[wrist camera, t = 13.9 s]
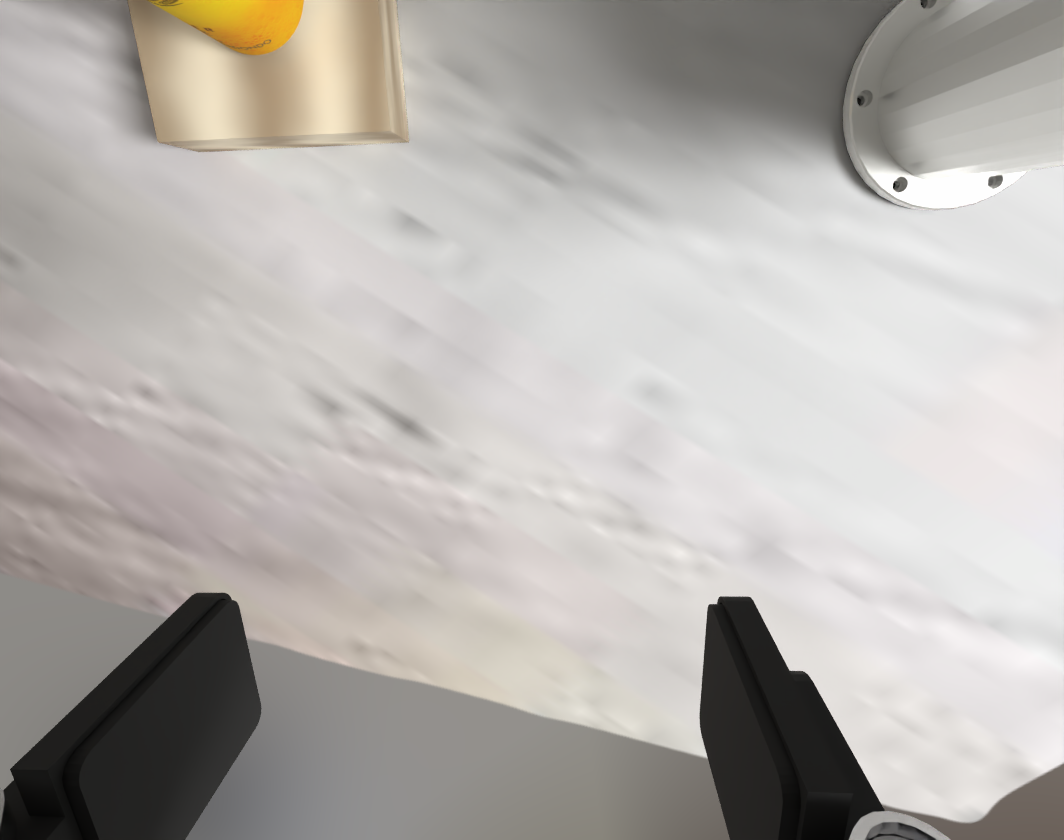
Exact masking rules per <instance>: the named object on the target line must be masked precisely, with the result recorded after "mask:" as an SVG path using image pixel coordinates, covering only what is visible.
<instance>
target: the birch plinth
mask: <svg viewBox="0 0 1064 840" xmlns="http://www.w3.org/2000/svg"><path fill="white" fill-rule="evenodd" d="M127 1H128V6H129V10H130V15H131V20H132V24H133V29H134V34H135V38H136V43H137V48H138V52H139V57H140V62H141V66H142V71H143V76H144V80H145V85H146V90H147V94H148V99H149V104H150V108H151V113H152V118H153V122H154V127H155V132H156V136H157V141H158V142H159V143H164V144H168V145H172V146H176V147H181V148H185V149H189V150H193V151H197V152H211V151H232V150H254V149H275V148H297V147H319V146H340V145H362V144H383V143H405V142H409V135H408V124H407V113H406V102H405V91H404V80H403V69H402V58H401V47H400V35H399V24H398V13H397V2H396V0H304V7H303V12H302V16H301V20H300V22H299V25H298V27H297V29H296V31H295V33H294V34H293V35H292V37H291V38H290V39H289V40H288V41H287V42H286V44H284V45H283V46H282V47H281V48H279V49H277V50H275V51H273V52H271V53H268V54H264V55H247V54H243V53H239V52H237V51H234V50H232V49H230V48H229V47H227V46H225V45H223V44H222V43H220V42H218V41H216V40H215V39H213V38H211V37H209V36H208V35H206V34H204V33H203V32H201V31H199V30H197V29H196V28H194V27H192V26H190V25H189V24H187V23H185V22H183V21H182V20H180V19H178V18H177V17H175V16H173V15H171V14H170V13H168V12H166V11H164V10H163V9H161V8H159V7H157V6H156V5H154V4H152V3H151V2H149V1H147V0H127Z"/></svg>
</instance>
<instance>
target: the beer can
mask: <svg viewBox="0 0 1064 840" xmlns="http://www.w3.org/2000/svg"><path fill="white" fill-rule="evenodd" d="M147 1H149V2H151V3H152V4H154V5H156V6H157V7H159V8H161V9H163V10H164V11H166V12H168V13H170V14H171V15H173V16H175V17H177V18H178V19H180V20H182V21H183V22H185V23H187V24H189V25H190V26H192V27H194V28H196V29H197V30H199V31H201V32H203V33H204V34H206V35H208V36H209V37H211V38H213V39H215V40H216V41H218V42H220V43H222V44H223V45H225V46H227V47H229V48H230V49H232V50H234V51H237V52H239V53H243V54H247V55H264V54H268V53H271V52H273V51H275V50H277V49H279V48H281V47H282V46H283V45H284V44H286V42H287V41H288V40H289V39H290V38H291V37H292V35H293V34H294V33H295V31H296V29H297V27H298V25H299V22H300V20H301V16H302V12H303V7H304V0H147Z"/></svg>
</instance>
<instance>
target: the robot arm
mask: <svg viewBox="0 0 1064 840" xmlns="http://www.w3.org/2000/svg"><path fill="white" fill-rule="evenodd" d="M921 2H922V3H923V7H922V6H921ZM857 98H860V99H861V104H860V106H859V105H858V103H857ZM843 131H844V136H845V141H846V146H847V151H848V153H849V155H850V158H851V160H852V162H853V165H854V167H855V169H856V170H857V172H858V173H859V174H860V176H861V177H862V179H863V180H864V181H865V183H866V184H867V185H868V186H869V187H871V188H872V189H873V190H874V191H875V192H876V193H877V194H878V195H880V196H881V197H883V198H885V199H887V200H889V201H891V202H893V203H894V204H896V205H900V206H904V207H907V208H911V209H916V210H932V211H935V210H946V209H955V208H959V207H964V206H968V205H973V204H975V203H978V202H980V201H982V200H985V199H987V198H990V197H992V196H994V195H996V194H997V193H999V192H1001V191H1002V190H1004V189H1006V188H1007V187H1009V186H1011V185H1012V184H1014V183H1015V182H1016V181H1017V180H1018V179H1020V178H1021V177H1022V176H1023V175H1024V174H1026V173H1027V172H1028V171H1030V170H1037V169H1044V168H1051V167H1058V166H1064V0H903V1H901V2H900V3H899V4H898V5H897V6H896V7H895V8H894V9H893V10H892V11H891V12H890V13H889V14H888V15H887V16H885V17H884V18H883V19H882V20H881V22H880V23H879V24H878V26H877V27H876V28H875V30H874V31H873V32H872V34H871V35H870V36H869V38H868V39H867V40H866V42H865V44H864V46H863V48H862V50H861V52H860V53H859V55H858V57H857V59H856V61H855V63H854V66H853V69H852V72H851V75H850V78H849V81H848V84H847V87H846V93H845V99H844V105H843ZM894 182H895V184H896V187H895V189H894V190H893V183H894ZM260 715H261V703H260V698H259V694H258V689H257V685H256V681H255V676H254V671H253V667H252V663H251V658H250V653H249V649H248V645H247V640H246V636H245V631H244V627H243V622H242V618H241V613H240V609H239V605H238V603H237V602H236V601H233V600H232V599H231V597H230V596H229V595H228V594H226V593H196V594H194V595H192V596H191V597H190V598H189V599H188V600H187V601H186V602H185V603H184V604H182V605H181V606H180V607H179V608H178V609H177V610H176V611H175V612H174V613H173V614H172V615H171V616H170V617H169V618H168V619H167V620H166V621H165V622H164V623H163V624H162V625H160V626H159V627H158V629H156V630H155V631H154V632H153V633H152V634H151V635H150V636H149V637H148V638H147V639H146V640H145V641H144V642H143V643H142V644H141V645H140V646H139V647H138V648H136V649H135V650H134V651H133V652H132V653H131V654H130V655H129V656H128V657H127V658H126V659H125V660H124V661H123V662H122V663H121V664H120V665H119V666H118V667H117V668H116V669H114V670H113V671H112V672H111V673H110V674H109V675H108V676H107V677H106V678H105V679H104V680H103V681H102V682H101V683H100V684H99V685H98V686H97V687H96V688H95V689H94V690H93V691H91V692H90V693H89V694H88V695H87V696H86V697H85V698H84V699H83V700H82V701H81V702H80V703H79V704H78V705H77V706H76V707H75V708H74V709H73V710H72V711H70V712H69V713H68V715H66V716H65V717H64V718H63V719H62V720H61V721H60V722H59V723H58V724H57V725H56V726H55V727H54V728H53V729H52V730H51V731H50V732H48V733H47V734H46V735H45V736H44V737H43V738H42V739H41V740H40V741H39V742H38V743H37V744H36V745H35V746H34V747H33V748H32V749H31V750H30V751H29V752H28V753H27V754H26V755H24V756H23V757H22V758H21V759H20V760H19V761H18V762H17V763H16V764H15V765H14V766H13V767H12V768H11V769H10V770H11V772H12V775H13V777H14V781H12V782H11V783H10V784H9V785H8V786H7V787H6V788H5V789H4V790H2V789H1V788H0V840H185V839H186V837H187V836H188V834H189V832H190V831H191V829H192V828H193V826H194V825H195V823H196V821H197V820H198V818H199V817H200V815H201V813H202V812H203V810H204V809H205V807H206V806H207V804H208V802H209V801H210V799H211V798H212V796H213V795H214V793H215V791H216V790H217V788H218V787H219V785H220V783H221V782H222V780H223V779H224V777H225V775H226V774H227V772H228V771H229V769H230V768H231V766H232V764H233V763H234V761H235V760H236V758H237V757H238V755H239V753H240V752H241V750H242V749H243V747H244V746H245V744H246V742H247V741H248V739H249V738H250V736H251V734H252V733H253V731H254V730H255V728H256V726H257V724H258V722H259V719H260ZM700 728H701V734H702V738H703V742H704V746H705V749H706V753H707V757H708V760H709V764H710V768H711V771H712V775H713V778H714V782H715V786H716V790H717V793H718V797H719V801H720V804H721V808H722V811H723V815H724V819H725V822H726V826H727V830H728V833H729V837H730V840H950V839H949V838H948V837H946V836H945V835H943V834H942V833H941V832H939V831H938V830H936V829H935V828H933V827H932V826H930V825H929V824H927V823H925V822H922V821H920V820H918V819H916V818H913V817H911V816H909V815H905V814H900V813H896V812H892V811H884V808H883V807H882V805H881V803H880V801H879V799H878V798H877V796H876V794H875V792H874V790H873V789H872V787H871V785H870V783H869V782H868V780H867V778H866V776H865V774H864V773H863V771H862V769H861V767H860V765H859V764H858V762H857V760H856V758H855V756H854V755H853V753H852V751H851V749H850V747H849V746H848V744H847V742H846V740H845V738H844V737H843V735H842V733H841V731H840V730H839V728H838V726H837V724H836V722H835V721H834V719H833V717H832V715H831V713H830V712H829V710H828V708H827V706H826V704H825V703H824V701H823V699H822V697H821V695H820V694H819V692H818V690H817V688H816V686H815V685H814V683H813V681H812V680H811V678H810V677H809V675H808V674H806V673H805V672H803V671H789V669H788V667H787V665H786V663H785V661H784V659H783V658H782V656H781V654H780V652H779V650H778V648H777V646H776V644H775V642H774V640H773V638H772V636H771V634H770V632H769V630H768V629H767V627H766V625H765V623H764V621H763V619H762V617H761V615H760V613H759V611H758V609H757V607H756V605H755V603H754V601H753V600H752V599H751V598H750V597H719V599H718V602H717V604H710V605H709V606H708V611H707V624H706V637H705V650H704V664H703V677H702V690H701V703H700Z"/></svg>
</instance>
